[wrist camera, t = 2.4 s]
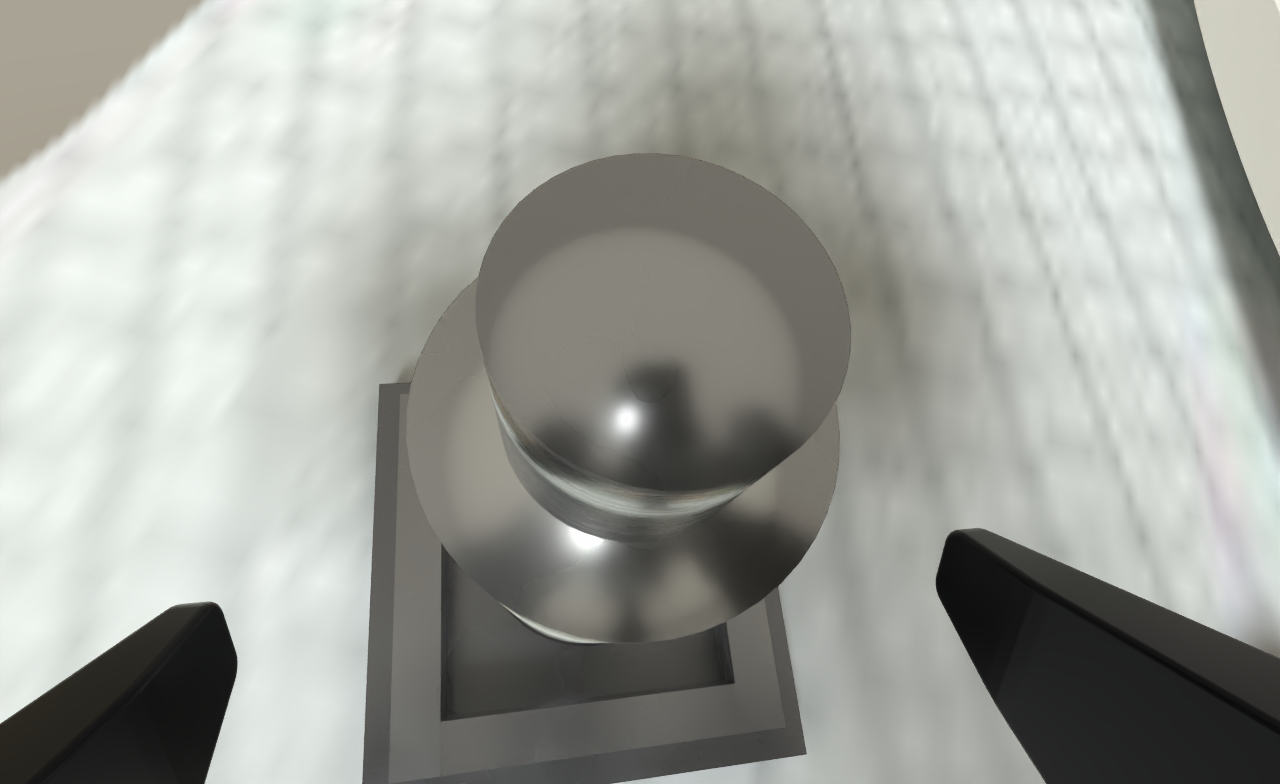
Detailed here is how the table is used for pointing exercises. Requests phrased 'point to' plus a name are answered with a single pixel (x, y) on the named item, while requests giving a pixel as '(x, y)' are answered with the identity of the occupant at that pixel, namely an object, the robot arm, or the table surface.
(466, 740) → the socket
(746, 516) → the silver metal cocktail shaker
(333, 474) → the table surface
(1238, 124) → the board
